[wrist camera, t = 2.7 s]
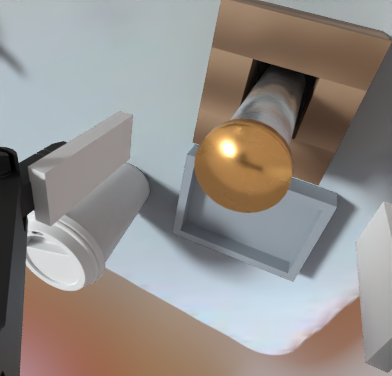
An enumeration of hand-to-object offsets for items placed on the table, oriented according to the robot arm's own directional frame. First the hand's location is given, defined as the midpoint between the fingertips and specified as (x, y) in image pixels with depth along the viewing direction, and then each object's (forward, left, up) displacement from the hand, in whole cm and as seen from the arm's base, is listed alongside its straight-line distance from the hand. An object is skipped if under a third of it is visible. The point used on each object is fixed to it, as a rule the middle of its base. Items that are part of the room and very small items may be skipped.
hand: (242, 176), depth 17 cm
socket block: (0, 0, -17) cm, 17 cm away
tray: (+15, +1, -17) cm, 22 cm away
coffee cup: (+18, -15, -17) cm, 29 cm away
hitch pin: (0, 0, -17) cm, 17 cm away
